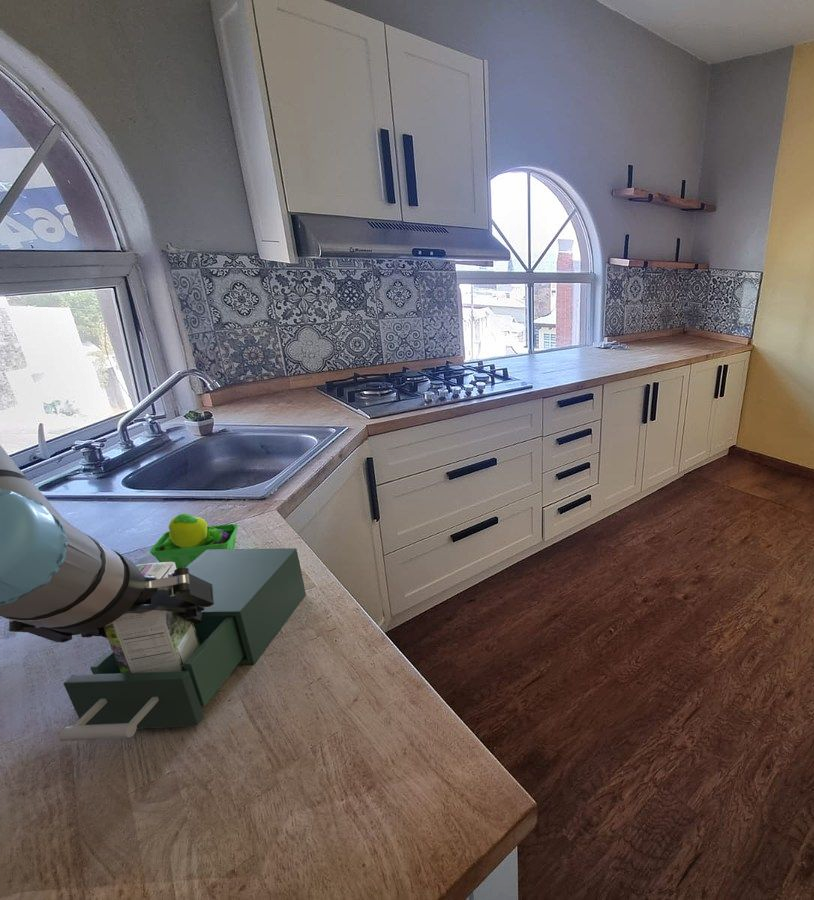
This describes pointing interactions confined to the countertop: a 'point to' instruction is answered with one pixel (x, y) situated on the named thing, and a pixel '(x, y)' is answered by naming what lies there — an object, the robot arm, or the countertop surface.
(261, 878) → the countertop surface
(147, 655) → the syrup box
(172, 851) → the countertop surface
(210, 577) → the green drawer cabinet
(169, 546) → the fruit basket
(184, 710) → the green drawer
